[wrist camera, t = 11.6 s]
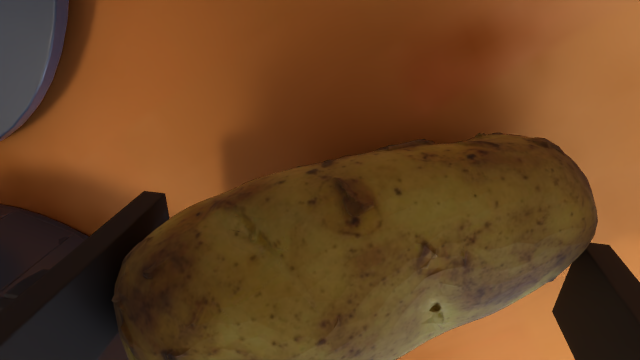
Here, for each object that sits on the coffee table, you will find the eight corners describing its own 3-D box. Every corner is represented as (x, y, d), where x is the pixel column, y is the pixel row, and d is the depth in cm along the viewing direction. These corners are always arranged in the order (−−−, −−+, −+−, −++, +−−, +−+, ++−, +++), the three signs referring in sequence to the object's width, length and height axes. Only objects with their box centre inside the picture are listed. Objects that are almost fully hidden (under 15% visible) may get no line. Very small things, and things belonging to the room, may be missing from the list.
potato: (510, 308, 16) (600, 562, 9) (213, 266, 18) (95, 452, 11) (577, 113, 12) (821, 289, 5) (192, 84, 14) (-11, 187, 7)
